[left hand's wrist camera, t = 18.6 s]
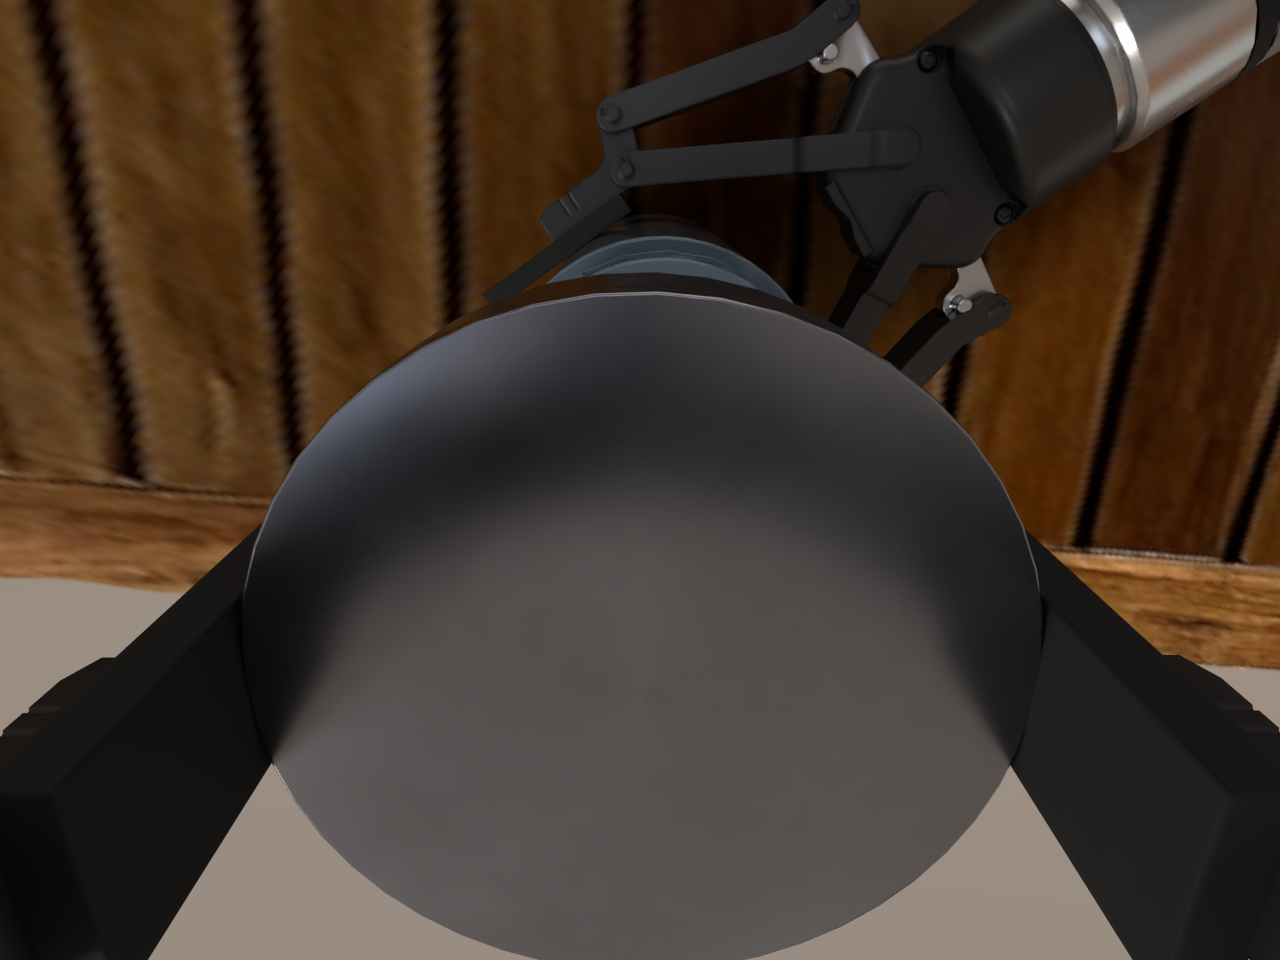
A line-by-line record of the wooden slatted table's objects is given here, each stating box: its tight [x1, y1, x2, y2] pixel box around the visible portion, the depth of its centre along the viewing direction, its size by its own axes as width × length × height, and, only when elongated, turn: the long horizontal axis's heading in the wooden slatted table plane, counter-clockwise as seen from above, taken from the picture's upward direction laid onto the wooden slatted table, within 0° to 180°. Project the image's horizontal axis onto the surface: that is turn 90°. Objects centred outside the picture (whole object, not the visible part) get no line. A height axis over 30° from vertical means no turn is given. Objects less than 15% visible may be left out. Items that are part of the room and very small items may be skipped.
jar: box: [544, 214, 793, 303], centre depth 30 cm, size 10×10×17 cm
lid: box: [241, 272, 1043, 960], centre depth 11 cm, size 11×11×2 cm
